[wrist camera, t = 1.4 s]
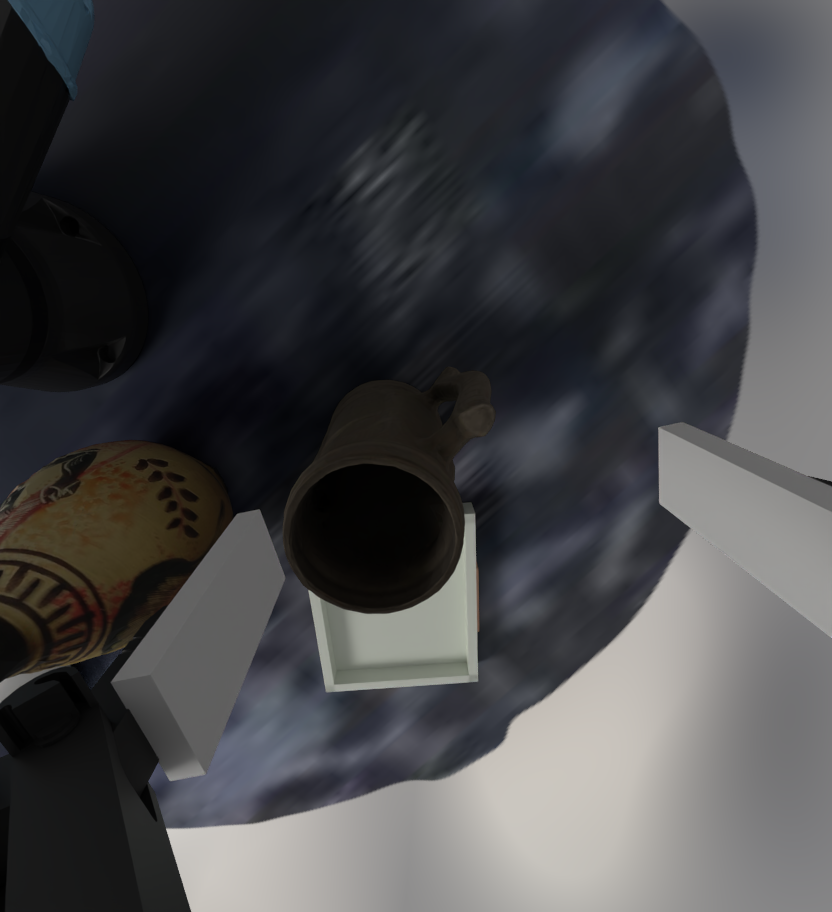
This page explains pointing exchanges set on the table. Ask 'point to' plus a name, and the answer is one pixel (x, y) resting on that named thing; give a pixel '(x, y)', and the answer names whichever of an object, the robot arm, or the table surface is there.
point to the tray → (406, 635)
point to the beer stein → (386, 494)
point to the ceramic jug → (100, 549)
